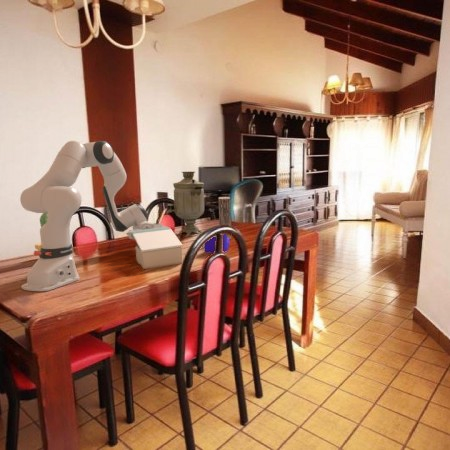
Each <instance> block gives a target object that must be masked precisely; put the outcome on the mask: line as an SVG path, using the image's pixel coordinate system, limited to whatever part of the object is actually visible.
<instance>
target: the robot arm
mask: <svg viewBox="0 0 450 450" xmlns="http://www.w3.org/2000/svg"><path fill="white" fill-rule="evenodd" d="M123 165H124V164H122V161H121V160H120V158H119V157H118V155H117V153H115V151H114V148H113V146H112V145H111V144H110V143H109V142H108V141H105V140H97V141H93V142H86V143H83V144H82V143H81V142H80V141H77V140H70V141H67V142H66V143H65V144H64V145H62V147H61V148H60V150H59V151H58V153H57V155H56V156H55V158H54V161H52V164H51V166H50V168H49V169H48V171H46V173H45V174H44V175H42V177H41V178H40V179H39V180H38V181H37V182H36V183H34V184H33V185H31V186H29V187H28V188H25V189H24V190H23V191H22V192H21V194H20V199H19V200H20V204H21V207H22V208H23V209H24V210H25V211H28V212H32V213H36V214H43V213H48V221H47V223H46V224H44V225H43V226H42V227H41V226H40V229H39V234H40V235H39V236H40V243H41V245H42V247H41V250H40V251H38V250H34V251H33V255H34V256H35V257H36V256H38V257H39V258H38V259H37V261H36V262H35V263H34V264H33V265H32V266H31V268H30V269H29V270H28V272H27V277H26V278H27V280H26V283H23V284H21V289H22V290H24V291H29V292H48V291H52V290H54V289H57V288H60V287H64V286H65V285H68V284H71V283H74V282H76V281H79V280H80V275H79V273H78V270H77V268H76V262H75V260H74V255H73V252H74V249H73V244H72V243H71V241H72V240H71V233H70V231H71V230H70V225H71V220H72V218H73V216H74V214H75V213H76V212H77V211H78V210H79V209H80V207H81V205H82V196H81V193H80V191H79V190H78V189H76V188H75V187H74V188H73V187H72V186H73V185H74V184H75V183H76V182H77V181H78V177H79V174H80V172H81V170H83V169H85V168H92V167H98V169H99V171H100V173H101V175H102V178H103V181H104V182H103V183H104V184H103V186H102V195H103V198H104V202H105V205H106V207H107V211H108V215H109V218H110V222H111V226H112V228H113V229H114V230H115V231H116V232H121V233H124V232H125V231H127V230H128V232H126V235H127V236H128V238H129V240H135V238H134V236H133V235H132V232H135V231H143V230H152V229H161V228H169V227H168V226H166V225H163V224H162V223H159V222H158V223H157V222H156V223H154V222H149V215H148V213H147V211H146V209H145V208H144V207H143V206H142V205H140V204H138V203H134V204H132V205H130V206H128V207H127V208H125V209H123V210H121V211H118V209H117V206H116V203H115V196H116V194H117V193H118V192H119V191H120V189H122V188H123V187H124V185H125V183H126V181H127V178H128V177H127V176H128V175H127V173H126V169H125V168H124V166H123ZM131 227H132V229H130V230H129V228H131Z"/></svg>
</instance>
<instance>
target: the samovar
mask: <svg viewBox="0 0 450 450" xmlns="http://www.w3.org/2000/svg"><path fill="white" fill-rule="evenodd" d="M181 173H182V177H183V178H182V179H181V180H180V181H178V182H174V183H172V185H173V189H174V190H173V203H168V204H167V206H169V209H168V210H167V211H166V213H165V214H169V213H170V214H171V213H172V212H174V213H175V215H176V217H178V219H179V218H180V219H181V220H183V221H184V224H185V225H186V226H184V227H183V228H182V229H181V231H179V232H178V234H181V233H186V236H191V234H192V233H194V232H198V233H201V232H202V233H203V231H202V230H200V229H199V227H197V225H195V223H196V220H197V219H199V218H200V217H201V216H202V215H203V214H204V213H205V191H204V187H205V186H204V185H205V183H204V182H201V181H197V180H196V179H194V175H195V173H196V171H181ZM172 206H174V207H173V208H174V209H172Z"/></svg>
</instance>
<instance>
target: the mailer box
mask: <svg viewBox="0 0 450 450" xmlns="http://www.w3.org/2000/svg"><path fill="white" fill-rule="evenodd" d="M182 249H183V246H182V247H176V248H169V249H162V250H155V251H148V252H141V250H140V248H139V246H138V245H135V255H136V256H135V257H136V262H137V264H138V265H139V264H140V265H141V266H140V265H139V266H140V267H141V268H142V269H143V270H144V269H145V270H151V269H150V268H152V269H155V268H156V269H158V268H163V267H169V266H175V265H181V264H183V251H182ZM157 267H158V268H157Z"/></svg>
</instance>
